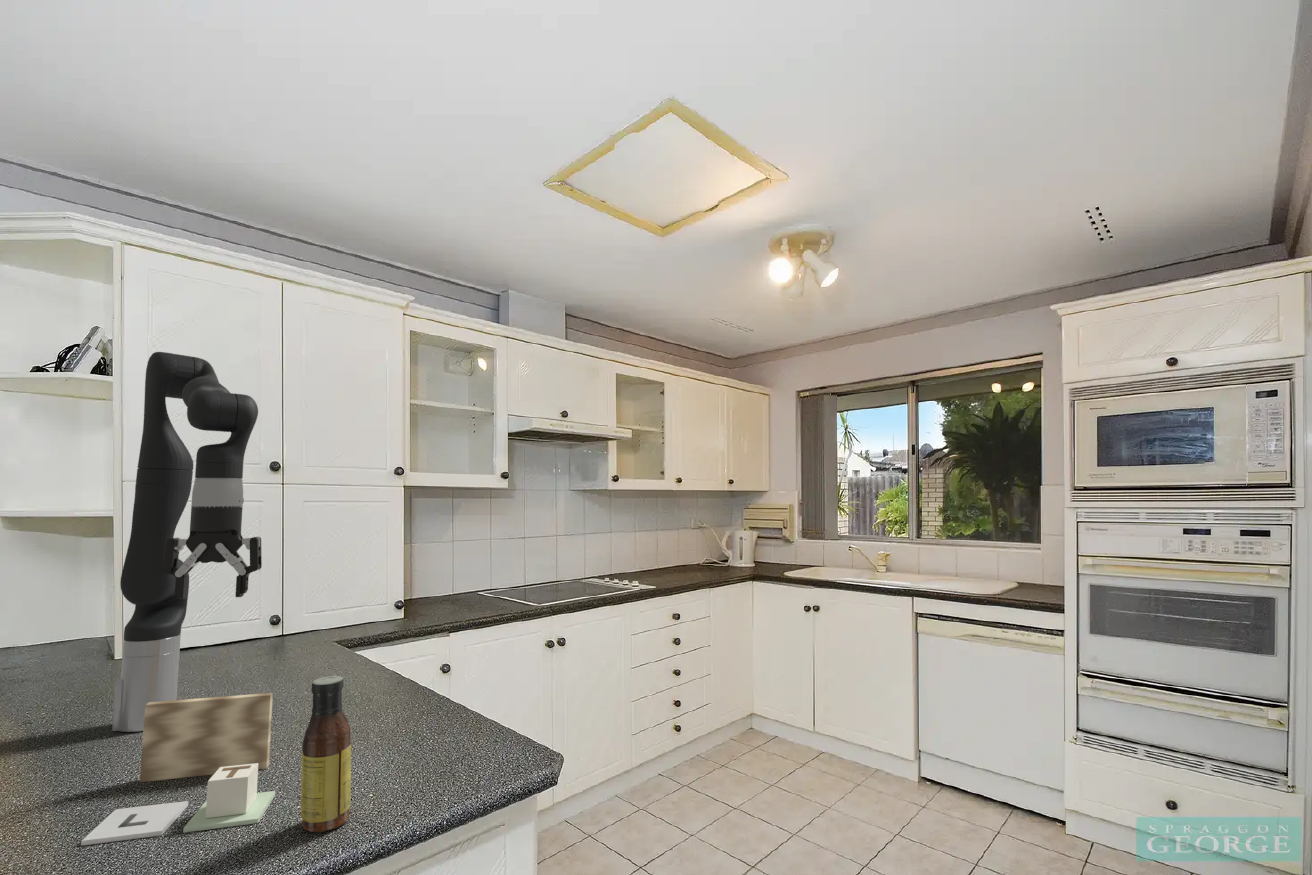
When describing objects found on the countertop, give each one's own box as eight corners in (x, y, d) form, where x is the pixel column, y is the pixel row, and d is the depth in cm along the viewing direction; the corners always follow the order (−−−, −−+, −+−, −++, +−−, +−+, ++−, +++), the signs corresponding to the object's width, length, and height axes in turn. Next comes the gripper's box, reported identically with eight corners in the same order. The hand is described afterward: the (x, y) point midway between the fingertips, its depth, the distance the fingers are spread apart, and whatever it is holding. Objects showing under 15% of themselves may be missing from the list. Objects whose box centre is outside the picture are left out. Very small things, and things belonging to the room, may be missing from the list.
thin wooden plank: (139, 782, 104) (145, 704, 105) (144, 778, 106) (149, 702, 107) (266, 768, 109) (270, 695, 110) (269, 765, 111) (272, 692, 112)
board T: (183, 832, 89) (183, 827, 89) (207, 802, 97) (207, 797, 97) (257, 823, 91) (258, 817, 91) (275, 794, 100) (275, 790, 100)
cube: (205, 818, 91) (207, 780, 92) (218, 802, 96) (220, 766, 96) (246, 813, 92) (248, 775, 93) (256, 797, 97) (258, 762, 98)
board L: (80, 845, 85) (81, 839, 85) (115, 813, 94) (116, 808, 94) (161, 835, 88) (161, 829, 88) (188, 805, 96) (188, 800, 96)
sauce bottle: (335, 808, 95) (341, 670, 97) (359, 820, 92) (364, 676, 94) (289, 827, 90) (296, 680, 92) (312, 841, 86) (319, 687, 88)
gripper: (160, 504, 109) (153, 603, 108) (256, 504, 113) (251, 599, 112) (179, 504, 116) (173, 596, 115) (268, 503, 120) (264, 592, 119)
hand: (211, 597), depth 113 cm, fingers open, 8 cm apart
